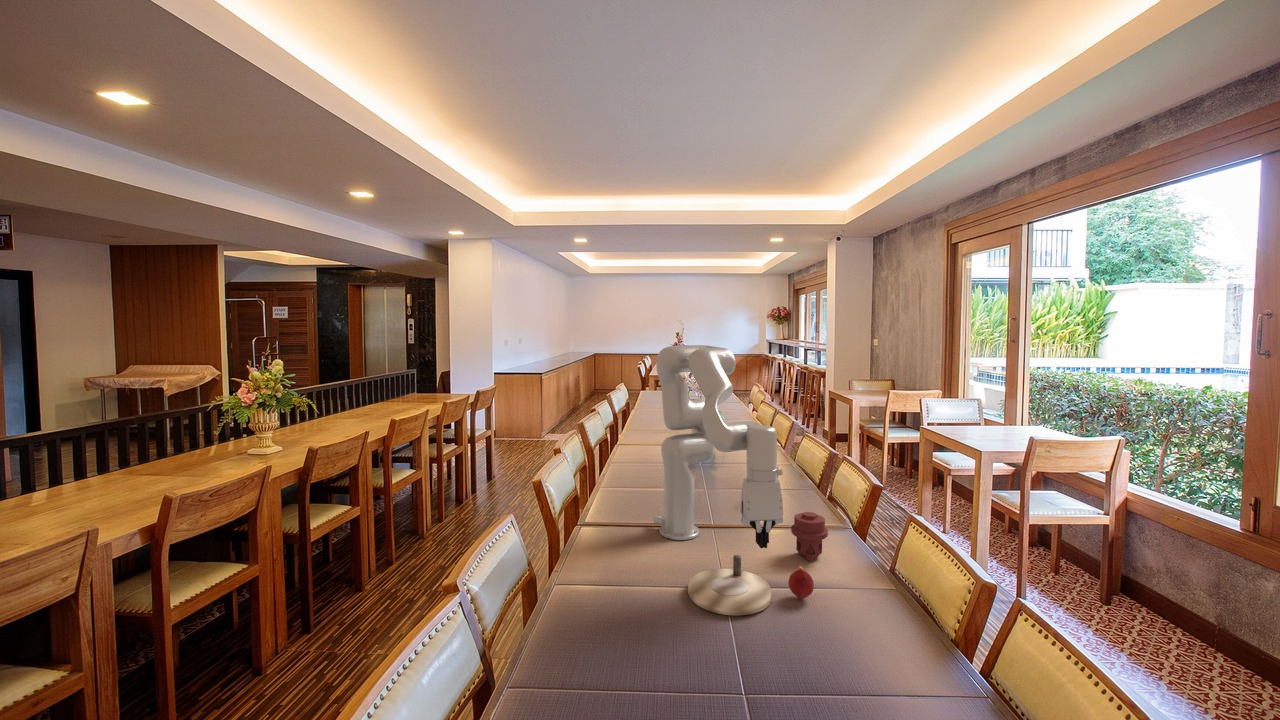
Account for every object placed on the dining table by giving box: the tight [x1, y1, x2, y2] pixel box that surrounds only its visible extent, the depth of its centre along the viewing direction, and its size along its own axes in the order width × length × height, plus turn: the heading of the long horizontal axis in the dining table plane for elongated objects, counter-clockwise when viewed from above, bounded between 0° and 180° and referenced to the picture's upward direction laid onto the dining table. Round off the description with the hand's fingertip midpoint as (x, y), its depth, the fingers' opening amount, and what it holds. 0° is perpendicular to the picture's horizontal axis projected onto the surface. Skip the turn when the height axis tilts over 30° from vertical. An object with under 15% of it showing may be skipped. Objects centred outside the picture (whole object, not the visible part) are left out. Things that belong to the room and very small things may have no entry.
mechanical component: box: [790, 511, 829, 562], centre depth 152 cm, size 12×10×10 cm
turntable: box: [687, 554, 772, 616], centre depth 130 cm, size 20×20×6 cm
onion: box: [788, 565, 815, 600], centre depth 128 cm, size 6×6×8 cm
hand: (762, 546), depth 135 cm, fingers closed
